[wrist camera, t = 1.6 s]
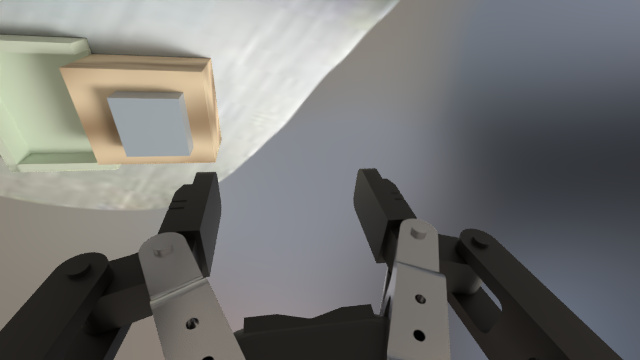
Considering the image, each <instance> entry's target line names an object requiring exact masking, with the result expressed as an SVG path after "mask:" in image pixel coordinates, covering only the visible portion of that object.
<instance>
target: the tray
mask: <svg viewBox="0 0 640 360" xmlns="http://www.w3.org/2000/svg"><path fill="white" fill-rule="evenodd" d="M88 55H91V51H90V48H89V45H88V42H87V39H86V38H67V37H45V36H24V35H2V34H0V155H1V156H2V158H3V160H4V161H5V163H6V164H7V166H8V168H9V169H10V171H11V172H41V171H86V170H118V168H119V167H120V166H121V164H108V165H98V162H97V160H96V157H95V155H94V152H93V150H92V147H91V145H90V142H89V140H88V138H87V135H86V133H85V130H84V128H83V125H82V123H81V120H80V118H79V116H78V113H77V111H76V108H75V106H74V103H73V101H72V98H71V96H70V94H69V91H68V89H67V86H66V84H65V81H64V79H63V76H62V74H61V71H60V69H59V67H62V66H64V65H66V64H69V63H71V62H74V61H76V60H79V59H81V58H83V57H86V56H88Z"/></svg>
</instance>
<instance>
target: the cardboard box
mask: <svg viewBox="0 0 640 360" xmlns="http://www.w3.org/2000/svg"><path fill="white" fill-rule="evenodd" d="M59 69H60V71H61V74H62V76H63V79H64V81H65V84H66V86H67V89H68V91H69V94H70V96H71V98H72V101H73V103H74V106H75V108H76V111H77V113H78V116H79V118H80V120H81V123H82V125H83V128H84V130H85V133H86V135H87V138H88V140H89V142H90V145H91V147H92V150H93V152H94V155H95V157H96V160H97V162H98V165H108V164H159V163H210V162H215V161H216V158H217V154H218V150H219V146H220V143H221V132H220V124H219V117H218V109H217V101H216V94H215V86H214V78H213V71H212V63H211V59H209V58H183V57H156V56H130V55H104V54H91V55H88V56H86V57H83V58H81V59H79V60H76V61H74V62H71V63H69V64H66V65H64V66H62V67H59ZM115 91H134V92H183V93H184V98H185V104H186V109H187V114H188V119H189V125H190V130H191V135H192V140H193V146H194V148H193V150H192V152H191V155H190V156H151V157H127V156H126V153H125V150H124V148H123V145H122V142H121V139H120V136H119V133H118V130H117V127H116V124H115V121H114V118H113V115H112V112H111V109H110V106H109V103H108V101H107V97H109V96H110V95H111V94H113V93H114V92H115Z"/></svg>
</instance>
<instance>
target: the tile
mask: <svg viewBox="0 0 640 360" xmlns="http://www.w3.org/2000/svg"><path fill="white" fill-rule="evenodd" d="M107 101H108V103H109V106H110V109H111V112H112V115H113V118H114V121H115V124H116V127H117V130H118V133H119V136H120V139H121V142H122V145H123V148H124V150H125V153H126V156H127V157H151V156H190V155H191V152H192V150H193V148H194V146H193V140H192V135H191V130H190V125H189V119H188V114H187V109H186V104H185V98H184V93H183V92H134V91H115V92H114V93H113V94H111V95H110V96H109V97H107Z"/></svg>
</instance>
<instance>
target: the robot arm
mask: <svg viewBox="0 0 640 360" xmlns="http://www.w3.org/2000/svg"><path fill="white" fill-rule="evenodd" d="M354 208H355V211H356V213H357V216H358V218H359V221H360V223H361V226H362V228H363V231H364V233H365V235H366V238H367V241H368V243H369V246H370V248H371V251H372V253H373V255H374V258H375V261H376V263H386V264H387V266H388V268H387V272H386V277H385V283H384V290H383V296H382V302H381V308H380V314H379V315H376V314H374V313H373V310H372V307H371V304H368V305H358V306H349V307H341V308H338V309H336V310H333V311H330V312H328V313H325V314H323V315H320V316H317V317H315V318H310V319H308V318H301V317H293V316H286V315H279V314H276V315H266V316H256V317H248V318H244V328H243V329H241V330H238V331H236V332H234V333H233V332H232V330H231V328H230V326H229V324H228V321H227V319H226V317H225V315H224V313H223V311H222V309H221V307H220V305H219V303H218V300H217V298H216V296H215V294H214V292H213V290H212V288H211V286H210V284H209V282H208V280H207V278H206V277H209V276H210V272H211V266H212V261H213V255H214V250H215V244H216V239H217V233H218V228H219V223H220V217H221V199H220V192H219V185H218V178H217V174H216V172H197V173H196V176H195V179H194V182H193V184H187V185H183V186H182V187H181V188H179V189H178V190H177V191H176V192H175V194H174V196H173V199H172V203H171V204H170V206H169V210H168V211H167V213H166V215H165V218H164V220H163V223H162V225H161V228H160V230H159V232H158V234H157V235H155V236H153V237H151V238H150V239H148V240H147V241H146V242H144V243H143V245H142V246H141V247H140V249H139V252H138V253H135V254H133V255H130V256H126V257H123V258H119V259H116V260H112V261H108V259H107V257H106V256H105V255H103V254H101V253H95V252H94V253H84V254H80V255H77V256H75V257H73V258H70V259H68V260H67V261H65V262H63V263H62V264H61V265H59V266H58V267H57V268H56V269H55V270H54V271H53V272H52V273H51V274H50V276H49V277H48V278H47V279H46V280H45V281H44V282H43V284H42V285H41V286H40V287H39V288H38V289H37V290H36V292H35V293H34V294H33V295H32V296H31V297H30V298H29V300H27V302H26V303H25V304H24V305H23V306H22V307H21V308H20V310H19V311H18V312H17V313H16V314H15V315H14V316H13V317H12V319H11V320H10V321H9V322H8V323H7V324H6V325H5V327H4V328H3V329H2V330H1V331H0V360H113V359H114V357H115V356H116V354H117V351H118V350H119V348H120V346H121V344H122V342H123V340H124V338H125V336H126V334H127V332H128V330H129V328H130V326H131V324H132V323H133V322H135V321H138V320H141V319H144V318H146V317H149V316H152V315H153V317H154V320H155V324H156V328H157V331H158V335H159V339H160V342H161V346H162V350H163V353H164V357H165V360H450V345H449V326H448V308H447V301H448V302H449V304H450V305H451V307H452V308H453V309H454V311H455V312H456V314H457V315H458V317H459V318H460V319H461V321H462V322H463V324H464V325H465V326H466V328H467V329H468V331H469V332H470V333H471V335H472V336H473V338H474V339H475V341H476V342H477V343H478V345H479V346H480V348H481V349H482V351H483V352H484V353H485V355H486V356H487V358H488V359H489V360H622V358H621V357H620V356H619V355H617V354H616V353H615V352H614V351H613V350H612V349H611V348H610V347H609V346H608V345H607V344H606V343H605V342H604V341H603V340H601V339H600V338H599V337H598V336H597V335H596V334H595V333H594V332H593V331H592V330H591V329H590V328H589V327H588V326H587V325H586V324H585V323H584V322H583V321H582V320H580V319H579V318H578V317H577V316H576V315H575V314H574V313H573V312H572V311H571V310H570V309H569V308H567V306H566V305H565V304H564V303H562V302H561V301H560V300H559V299H558V298H557V297H556V296H555V295H554V294H553V293H552V292H551V291H550V290H549V289H548V288H546V286H544V285H543V284H542V283H541V282H540V281H539V280H538V279H537V278H536V277H535V276H534V275H533V274H532V273H531V272H530V271H528V269H526V268H525V267H524V266H523V265H522V264H521V263H520V262H519V261H518V260H517V259H516V258H515V257H514V256H513V255H512V254H510V252H508V251H507V250H506V249H505V248H504V247H503V246H502V245H501V244H500V243H499V242H498V241H497V240H496V239H495V238H493V237H492V236H491V235H489V234H487V233H485V232H483V231H480V230H477V229H465V230H463V231H462V232H461V234H460V236H459V238H457V237H451V236H445V235H440V234H438V233H437V231H436V229H435V228H434V227H433V226H432V225H430V224H429V223H427V222H425V221H423V220H420V219H417V218H416V216H415V214H414V213H413V212H412V210H411V208H410V207H409V205H408V204H407V202H406V201H405V200H404V198H403V196H402V194H400V191H399V190H398V188H397V187H396V185H395V184H393V183H392V182H391V181H389V180H388V179H382V177H381V176H380V174H379V173H378V171H377V169H375V168H373V169H359V170H358V174H357V180H356V186H355V192H354ZM482 282H484V283H485V284H486V286H487V287H488V288H489V289H490V290H491V291H492V292H493V294H494V295H495V296H496V297H497V298H498V299H499V301H500V303H501V306H502V311H501V310H500V309H499V308H498V306H497V305H496V304H495V303H494V302H493V301H492V300H491V298H490V297H489V296H488V295H487V293H486V292H485V291H484V290H483V289H482V288H481V286H480V285H481V284H482Z"/></svg>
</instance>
